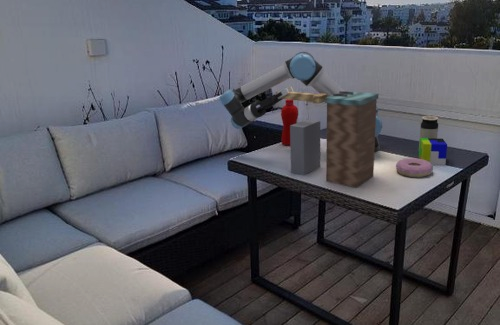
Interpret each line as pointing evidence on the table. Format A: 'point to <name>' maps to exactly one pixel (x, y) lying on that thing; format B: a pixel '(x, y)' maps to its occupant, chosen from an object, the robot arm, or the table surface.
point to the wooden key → (305, 97)
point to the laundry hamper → (350, 137)
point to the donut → (414, 167)
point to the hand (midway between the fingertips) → (289, 89)
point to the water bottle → (288, 120)
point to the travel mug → (429, 127)
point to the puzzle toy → (433, 150)
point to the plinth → (305, 146)
